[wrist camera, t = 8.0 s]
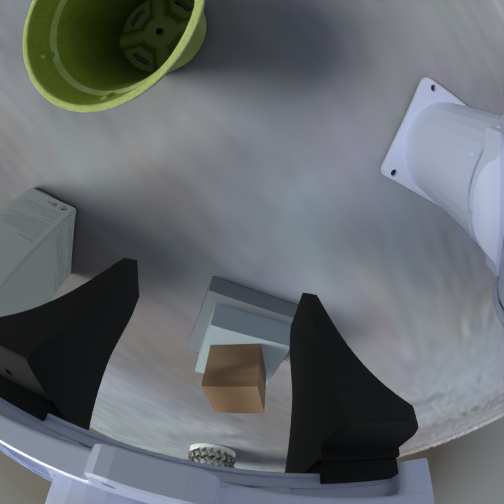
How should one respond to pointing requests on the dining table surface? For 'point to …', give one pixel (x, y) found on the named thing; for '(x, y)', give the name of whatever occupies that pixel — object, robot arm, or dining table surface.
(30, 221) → the skincare box
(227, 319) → the top slab
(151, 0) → the plant pot
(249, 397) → the walnut cube
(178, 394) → the dining table surface
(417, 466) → the robot arm
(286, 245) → the dining table surface
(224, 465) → the decorative candle
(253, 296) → the base slab
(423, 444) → the dining table surface
